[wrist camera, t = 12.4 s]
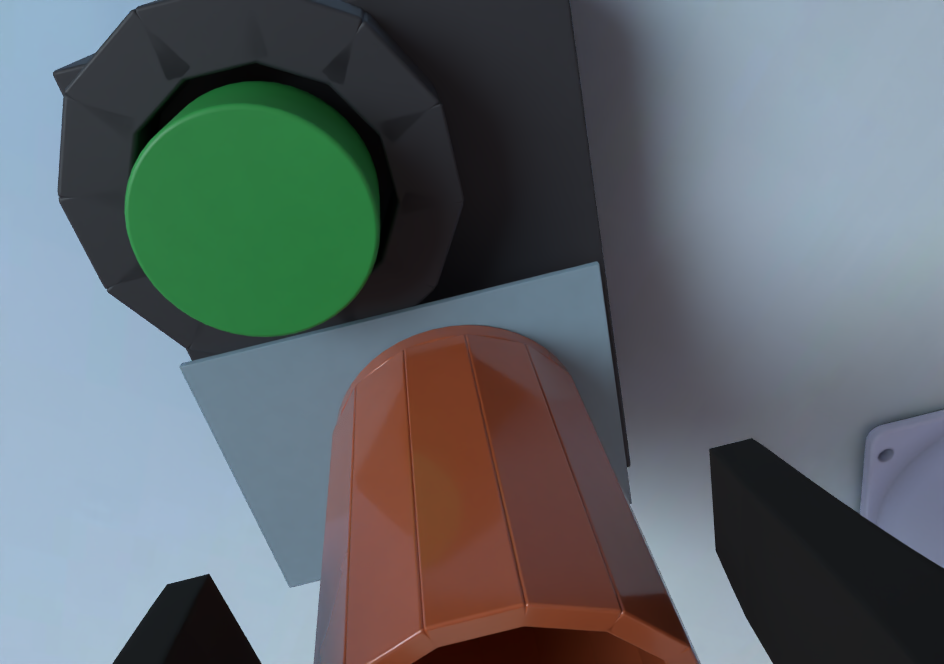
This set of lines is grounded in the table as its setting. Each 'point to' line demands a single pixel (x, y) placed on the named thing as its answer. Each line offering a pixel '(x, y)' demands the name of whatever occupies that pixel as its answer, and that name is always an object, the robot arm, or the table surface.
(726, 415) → the table surface
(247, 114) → the button
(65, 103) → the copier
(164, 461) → the table surface
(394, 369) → the mug
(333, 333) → the plate
